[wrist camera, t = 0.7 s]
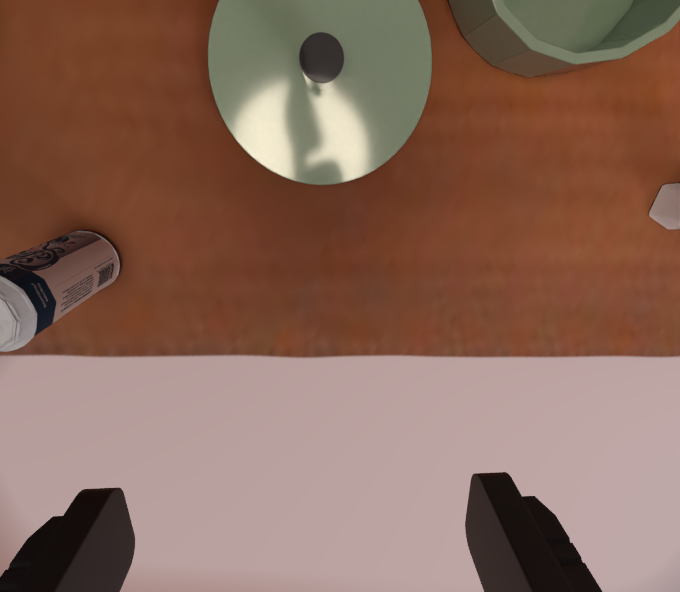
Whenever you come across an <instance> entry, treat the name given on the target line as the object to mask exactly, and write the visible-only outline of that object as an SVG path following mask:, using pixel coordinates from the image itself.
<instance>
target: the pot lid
mask: <svg viewBox="0 0 680 592" xmlns="http://www.w3.org/2000/svg"><path fill="white" fill-rule="evenodd" d="M208 70H209V77H210V83H211V88H212V91H213V95H214V99H215V102H216V104H217V107H218V109H219V112H220V114H221V117H222V118H223V120H224V122H225V124H226V126H227V128H228V129H229V131H230V132H231V134H232V135H233V137H234V138H235V139H236V141H237V142H238V143H239V144H240V145H241V147H242V148H243V149H244V150H245V151H246V152H247V153H248V154H249V155H250V156H251V157H252V158H254V159H255V160H256V161H257V162H258V163H260V164H261V165H263V166H264V167H266V168H267V169H269V170H270V171H272V172H274V173H276V174H278V175H280V176H282V177H285V178H288V179H290V180H293V181H297V182H301V183H306V184H316V185H329V184H338V183H343V182H348V181H351V180H354V179H357V178H360V177H362V176H364V175H366V174H368V173H370V172H372V171H374V170H376V169H377V168H379V167H380V166H382V165H383V164H384V163H386V162H387V161H388V160H389V159H390V158H391V157H393V156H394V155H395V154H396V153H397V152H398V150H399V149H400V148H401V147H402V146H403V145H404V144H405V142H406V141H407V139H408V138H409V137H410V135H411V134H412V132H413V131H414V129H415V127H416V125H417V123H418V121H419V119H420V117H421V114H422V112H423V109H424V107H425V104H426V100H427V96H428V92H429V88H430V81H431V74H432V50H431V40H430V35H429V30H428V25H427V22H426V19H425V16H424V13H423V10H422V7H421V5H420V3H419V1H418V0H219V2H218V4H217V7H216V10H215V13H214V16H213V19H212V24H211V29H210V33H209V43H208Z"/></svg>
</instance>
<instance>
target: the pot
mask: <svg viewBox="0 0 680 592" xmlns="http://www.w3.org/2000/svg"><path fill="white" fill-rule="evenodd" d="M449 4H450V7H451V10H452V13H453V16H454V19H455V21H456V23H457V25H458V27H459V29H460V31H461V33H462V35H463V36H464V38H465V39H466V40H467V42H468V43H469V44H470V45H471V47H472V48H473V49H474V50H475V51H476V52H477V53H478V54H479V55H480V56H481V57H482V58H484V59H485V60H486V61H488V62H489V63H490V64H491V65H492V66H495V67H497V68H500V69H502V70H504V71H507V72H509V73H513V74H517V75H522V76H525V77H529V78H530V77H537V76H546V75H552V74H560V73H567V72H571V71H575V70H579V69H583V68H586V67H590V66H594V65H598V64H602V63H606V62H610V61H614V60H618V59H621V58H624V57H626V56H627V55H629V54H631V53H633V52H634V51H636V50H638V49H640V48H641V47H643V46H645V45H647V44H648V43H650V42H652V41H653V40H655V39H657V38H659V37H660V36H662V35H664V34H666V33H667V32H669V31H670V30H671V29H672V28H673V27H674V26H675V25H676V23H677V22H678V21H679V20H680V0H449Z"/></svg>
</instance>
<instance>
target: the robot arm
mask: <svg viewBox="0 0 680 592" xmlns="http://www.w3.org/2000/svg"><path fill="white" fill-rule="evenodd" d="M465 527H466V537H467V542H468V547H469V550H470V553H471V556H472V559H473V562H474V564H475V567H476V570H477V572H478V575H479V578H480V581H481V584H482V586H483V589H484V592H602V590H601V589H600V587H599V586H598V584H597V583H596V581H595V579H594V578H593V576H592V574H591V573H590V571H589V569H588V568H587V566H586V564H585V563H583V562H582V560H581V556H580V555H579V553H578V551H577V550H576V548H575V547H574V545H573V543H570V540H569V537H568V535H567V534H566V532H565V530H564V529H563V527H562V525H561V524H560V522H559V521H558V519H557V517H556V516H555V515H554V514H553V513H552V512H551V511H550V510H549V509H548V508H547V507H546V506H545V505H543V504H542V503H541V502H540V501H539V500H538V499H537V498H536V497H535V496H525V497H522V496H521V494H520V493H519V491H518V489H517V487H516V485H515V484H514V482H513V480H512V478H511V477H510V475H509V474H507V473H506V472H503V473H480V474H473V476H472V478H471V485H470V492H469V499H468V507H467V514H466V522H465ZM134 549H135V536H134V532H133V527H132V524H131V520H130V516H129V512H128V508H127V504H126V501H125V497H124V493H123V491H122V489H121V488H104V489H103V488H102V489H84V490H82V491H81V492H79V493H78V495H77V496H76V498H75V499H74V500H73V502H72V503H71V505H70V506H69V508H68V510H67V511H66V513H65V514H64V516H57V517H56V516H55V517H52V518H51V519H50V520H49V521H47V522H46V523H45V524H44V525H43V526H42V527H41V528H39V529H38V530H37V531H36V532H35V533H34V534H33V535H32V536H30V537H29V538H28V539H27V541H26V542H25V543H24V545H23V546H22V548H21V549H20V551H19V552H18V553H17V555H16V556H15V557H14V559H13V560H12V562H11V563H10V567H9V569H8V570H5V571H4V573H3V574H2V576H1V577H0V592H120V589H121V587H122V585H123V582H124V580H125V578H126V575H127V573H128V571H129V568H130V566H131V563H132V559H133V555H134Z"/></svg>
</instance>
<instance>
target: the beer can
mask: <svg viewBox="0 0 680 592" xmlns="http://www.w3.org/2000/svg"><path fill="white" fill-rule="evenodd" d="M119 268H120V264H119V258H118V255H117V253H116V251H115V249H114V248H113V246H112V245H111V244H110V243H109V242H108V241H107V240H106V239H105V238H103V237H101V236H100V235H98V234H96V233H92V232H88V231H76V232H72V233H69V234H67V235H64V236H61V237H59V238H56V239H54V240H51V241H49V242H46V243H43V244H41V245H38V246H36V247H33V248H31V249H28V250H25V251H23V252H20V253H18V254H15V255H13V256H10V257H7V258H5V259H2V260H0V351H12V350H16V349H18V348H20V347H22V346H24V345H25V344H27V343H28V342H29V341H30V340H31V339H32V338H33V337H34V336H35V335H37V334H38V333H40V332H41V331H42V330H44V329H45V328H47V327H48V326H50V325H51V324H52V323H54V322H55V321H57V320H58V319H60V318H61V317H62V316H64V315H65V314H67V313H68V312H70V311H71V310H72V309H74V308H75V307H77V306H78V305H79V304H81V303H82V302H84V301H85V300H87V299H88V298H89V297H91V296H92V295H94V294H95V293H97V292H98V291H99V290H101V289H102V288H105V287H106V286H108V285H110V284H111V283H112V282H113V281H115V279H116V278H117V276H118V273H119Z"/></svg>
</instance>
